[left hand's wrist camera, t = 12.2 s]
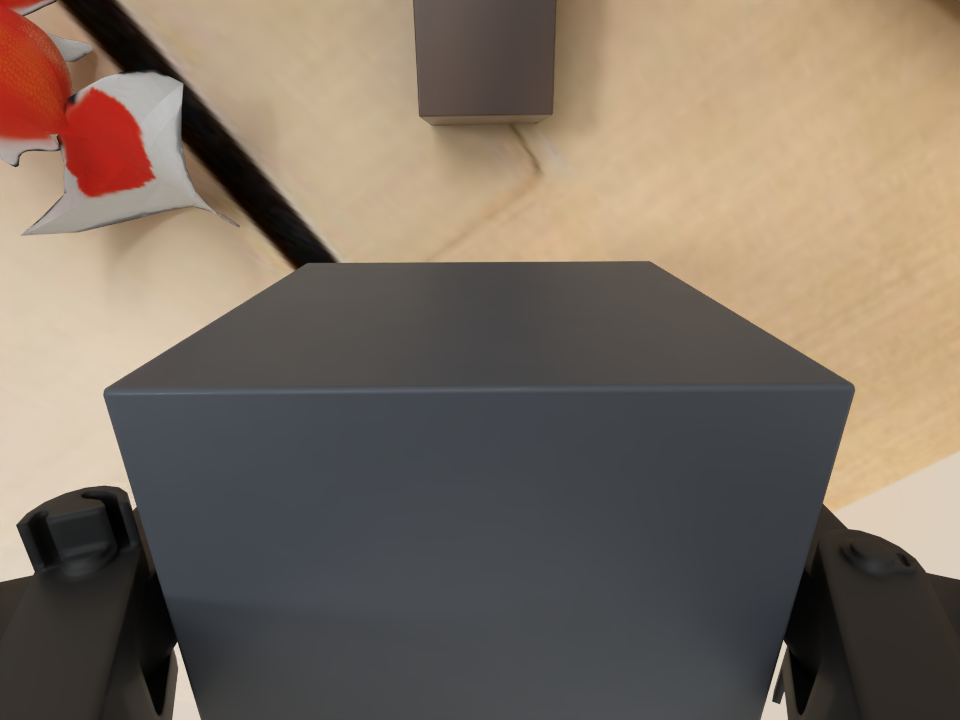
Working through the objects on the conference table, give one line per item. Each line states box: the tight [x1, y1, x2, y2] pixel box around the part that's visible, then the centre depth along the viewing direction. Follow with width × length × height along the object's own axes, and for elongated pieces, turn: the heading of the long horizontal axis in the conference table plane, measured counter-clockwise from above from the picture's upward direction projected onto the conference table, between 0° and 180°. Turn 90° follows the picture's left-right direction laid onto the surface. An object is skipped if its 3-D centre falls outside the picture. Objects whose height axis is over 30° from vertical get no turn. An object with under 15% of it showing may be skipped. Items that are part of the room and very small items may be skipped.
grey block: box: [103, 261, 855, 720], centre depth 10 cm, size 8×8×7 cm
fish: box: [0, 0, 240, 235], centre depth 25 cm, size 11×16×10 cm
